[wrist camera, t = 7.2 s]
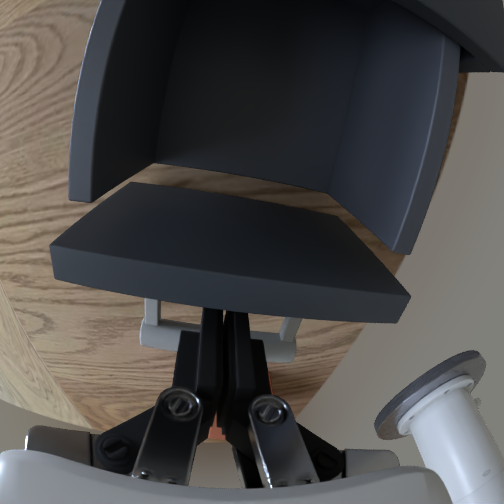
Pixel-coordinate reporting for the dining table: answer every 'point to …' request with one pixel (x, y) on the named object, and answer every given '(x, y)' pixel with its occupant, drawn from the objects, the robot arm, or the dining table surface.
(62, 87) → the dining table surface
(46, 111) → the dining table surface
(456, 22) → the drawer cabinet
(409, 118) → the dark grey drawer
